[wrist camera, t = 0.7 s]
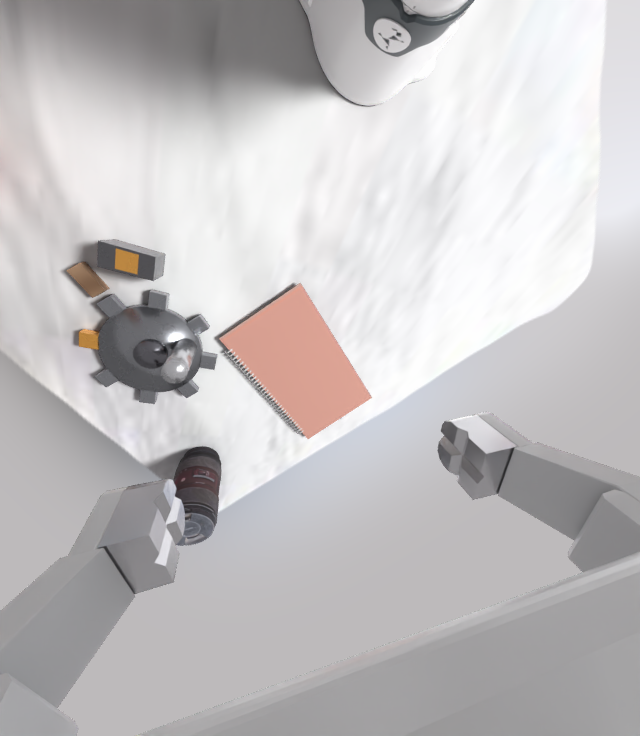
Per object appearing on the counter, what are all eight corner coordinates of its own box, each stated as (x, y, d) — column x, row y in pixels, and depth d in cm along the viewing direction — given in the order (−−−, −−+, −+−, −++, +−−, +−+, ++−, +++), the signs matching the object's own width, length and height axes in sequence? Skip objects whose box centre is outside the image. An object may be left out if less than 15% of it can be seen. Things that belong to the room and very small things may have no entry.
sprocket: (84, 272, 37) (33, 286, 28) (226, 307, 44) (221, 328, 35) (83, 390, 44) (41, 431, 35) (207, 406, 50) (199, 444, 41)
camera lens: (170, 453, 53) (146, 526, 40) (211, 437, 54) (201, 504, 41) (191, 480, 57) (175, 554, 44) (229, 465, 58) (225, 534, 45)
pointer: (72, 269, 37) (66, 270, 36) (85, 261, 37) (79, 262, 36) (97, 295, 39) (92, 297, 38) (109, 288, 39) (104, 290, 38)
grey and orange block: (115, 239, 37) (97, 240, 33) (165, 253, 39) (155, 257, 35) (114, 262, 38) (97, 266, 34) (163, 275, 40) (153, 281, 36)
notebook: (214, 338, 46) (213, 343, 44) (298, 281, 45) (300, 283, 44) (302, 436, 59) (303, 442, 58) (368, 393, 59) (372, 398, 57)
